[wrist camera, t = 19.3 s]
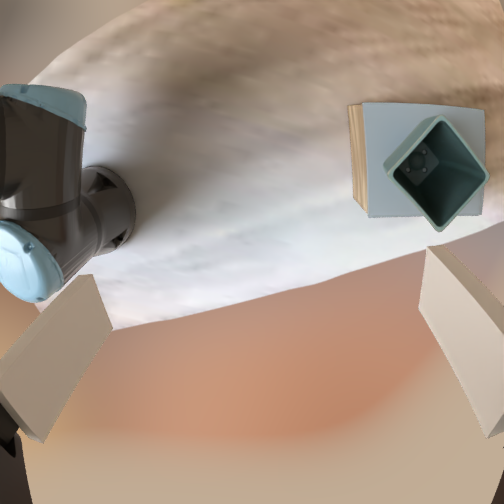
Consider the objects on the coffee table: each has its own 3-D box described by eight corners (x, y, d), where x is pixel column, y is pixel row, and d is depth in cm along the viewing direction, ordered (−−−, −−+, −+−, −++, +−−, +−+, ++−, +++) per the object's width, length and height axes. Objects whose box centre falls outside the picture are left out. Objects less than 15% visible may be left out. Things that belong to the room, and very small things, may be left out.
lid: (365, 211, 40) (368, 217, 38) (360, 103, 35) (363, 102, 32) (475, 210, 37) (482, 215, 35) (477, 109, 31) (485, 110, 29)
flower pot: (459, 161, 33) (492, 177, 25) (415, 208, 36) (439, 235, 28) (414, 110, 31) (442, 112, 23) (369, 160, 35) (384, 175, 27)
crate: (353, 197, 46) (367, 213, 39) (347, 105, 41) (361, 104, 33) (443, 193, 45) (467, 207, 37) (442, 108, 39) (468, 109, 32)
